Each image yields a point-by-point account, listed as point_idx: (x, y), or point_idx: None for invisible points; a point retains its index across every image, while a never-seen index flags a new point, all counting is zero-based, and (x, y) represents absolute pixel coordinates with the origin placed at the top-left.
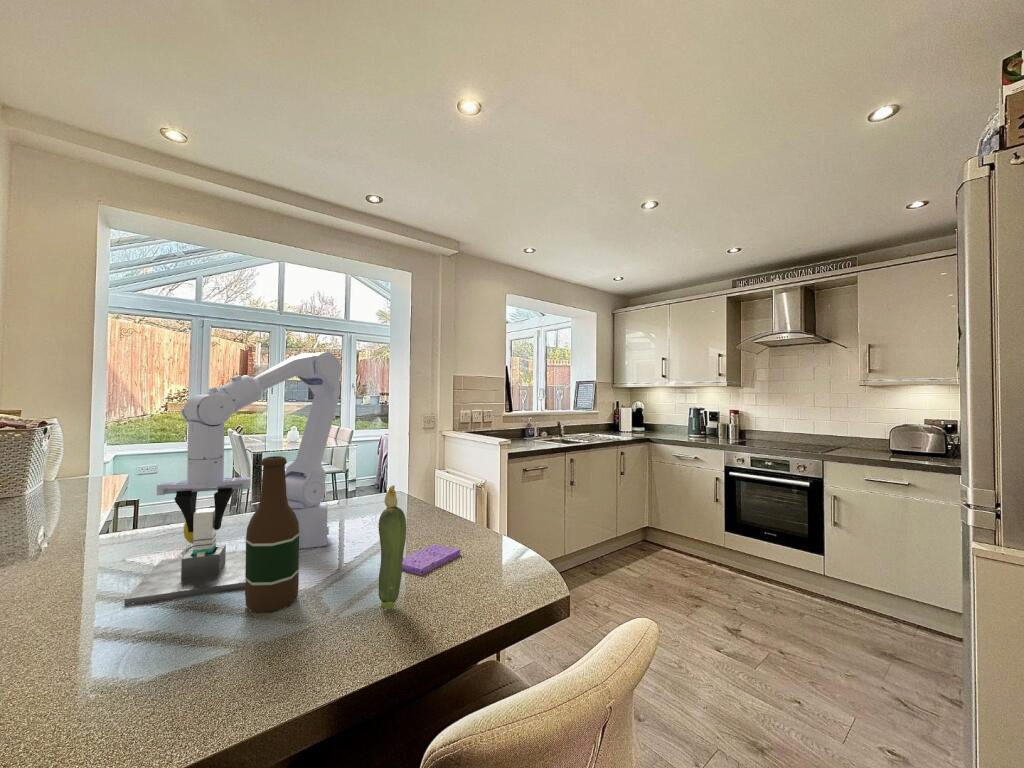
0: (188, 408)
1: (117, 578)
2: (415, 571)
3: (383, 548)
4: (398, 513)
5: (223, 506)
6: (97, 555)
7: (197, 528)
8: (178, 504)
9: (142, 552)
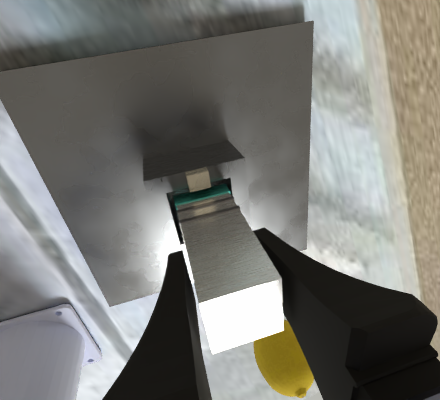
0: None
1: (356, 188)
2: None
3: None
4: None
5: (143, 337)
6: (403, 282)
7: (239, 236)
8: (381, 289)
9: None
